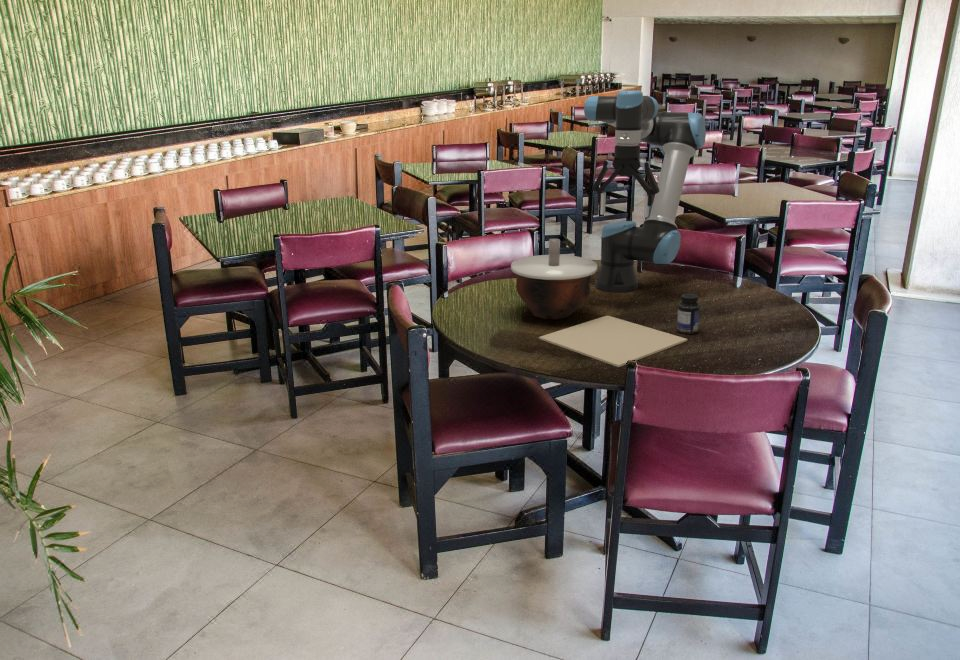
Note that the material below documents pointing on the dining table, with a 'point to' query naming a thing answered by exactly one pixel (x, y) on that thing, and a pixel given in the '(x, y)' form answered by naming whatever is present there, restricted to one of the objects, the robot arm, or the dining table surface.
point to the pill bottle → (688, 314)
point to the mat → (613, 340)
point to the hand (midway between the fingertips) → (624, 215)
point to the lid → (554, 265)
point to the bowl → (553, 295)
